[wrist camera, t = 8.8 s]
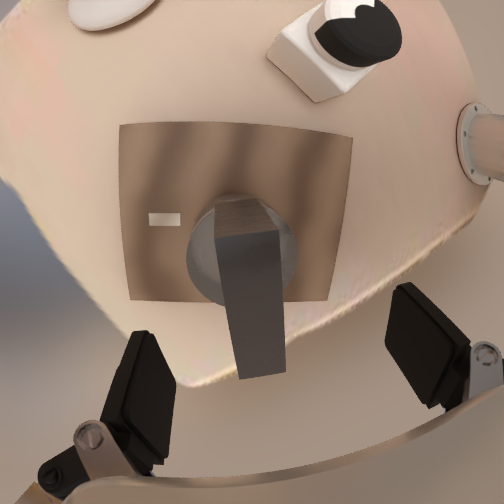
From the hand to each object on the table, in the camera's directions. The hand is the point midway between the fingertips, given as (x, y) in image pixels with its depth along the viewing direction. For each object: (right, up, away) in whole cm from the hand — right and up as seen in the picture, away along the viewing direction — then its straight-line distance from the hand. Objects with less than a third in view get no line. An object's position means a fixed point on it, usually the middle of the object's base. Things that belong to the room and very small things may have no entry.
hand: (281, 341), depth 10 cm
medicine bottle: (+5, +23, +12) cm, 26 cm away
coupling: (-2, +3, +11) cm, 12 cm away
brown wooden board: (-3, +7, +18) cm, 19 cm away
